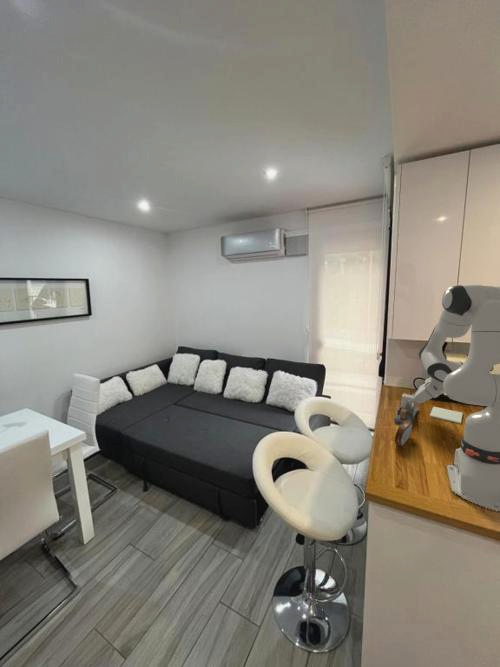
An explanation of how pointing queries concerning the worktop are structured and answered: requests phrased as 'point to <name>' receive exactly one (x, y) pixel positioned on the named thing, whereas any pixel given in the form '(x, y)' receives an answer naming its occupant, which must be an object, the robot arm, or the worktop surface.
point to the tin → (403, 433)
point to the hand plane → (405, 415)
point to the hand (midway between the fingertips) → (410, 399)
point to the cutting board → (446, 415)
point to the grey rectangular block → (405, 404)
